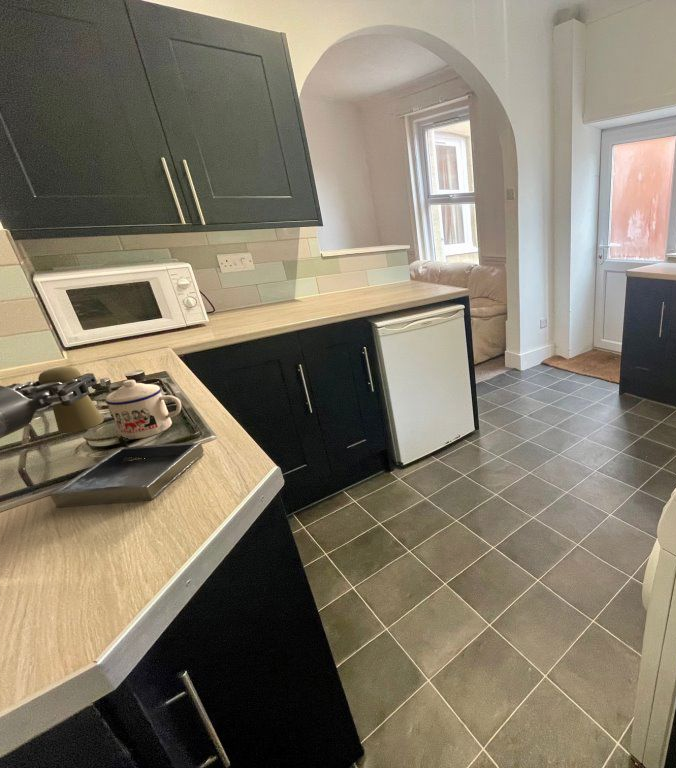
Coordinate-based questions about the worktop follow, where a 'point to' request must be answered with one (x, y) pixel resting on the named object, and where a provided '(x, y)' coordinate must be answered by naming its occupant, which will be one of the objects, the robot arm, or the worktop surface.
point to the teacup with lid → (141, 409)
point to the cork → (75, 414)
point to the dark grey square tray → (129, 475)
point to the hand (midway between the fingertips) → (75, 379)
